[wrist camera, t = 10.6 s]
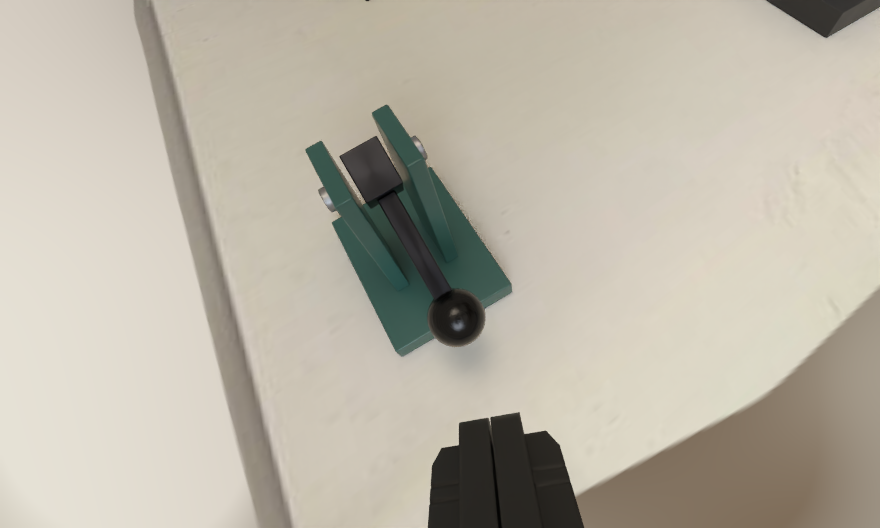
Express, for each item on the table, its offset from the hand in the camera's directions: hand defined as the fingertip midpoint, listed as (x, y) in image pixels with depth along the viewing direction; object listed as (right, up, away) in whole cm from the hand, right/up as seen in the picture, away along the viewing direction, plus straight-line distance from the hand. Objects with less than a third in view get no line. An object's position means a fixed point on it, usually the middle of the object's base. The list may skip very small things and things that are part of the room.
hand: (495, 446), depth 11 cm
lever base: (-3, +5, +23) cm, 24 cm away
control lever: (-3, +5, +15) cm, 16 cm away
